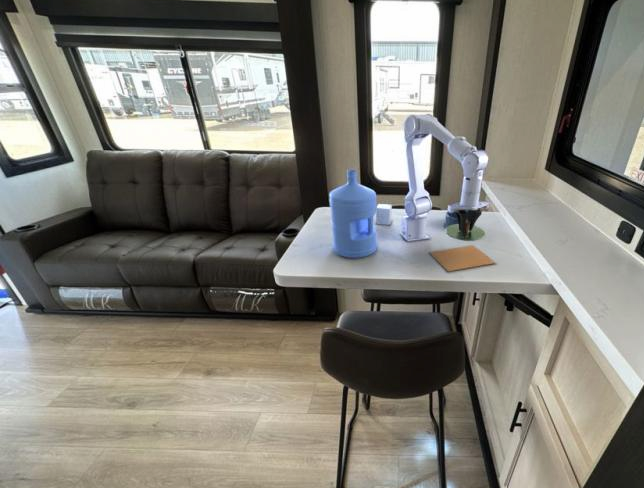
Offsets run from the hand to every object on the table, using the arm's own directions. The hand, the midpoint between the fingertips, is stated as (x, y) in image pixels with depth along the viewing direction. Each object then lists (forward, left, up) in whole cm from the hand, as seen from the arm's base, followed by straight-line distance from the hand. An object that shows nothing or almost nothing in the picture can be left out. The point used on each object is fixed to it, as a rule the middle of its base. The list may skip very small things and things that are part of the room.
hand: (465, 230), depth 104 cm
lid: (0, 0, -1) cm, 1 cm away
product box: (-17, +38, -10) cm, 43 cm away
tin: (+13, +24, -10) cm, 29 cm away
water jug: (-35, +16, -10) cm, 40 cm away
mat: (-1, -2, -10) cm, 10 cm away
